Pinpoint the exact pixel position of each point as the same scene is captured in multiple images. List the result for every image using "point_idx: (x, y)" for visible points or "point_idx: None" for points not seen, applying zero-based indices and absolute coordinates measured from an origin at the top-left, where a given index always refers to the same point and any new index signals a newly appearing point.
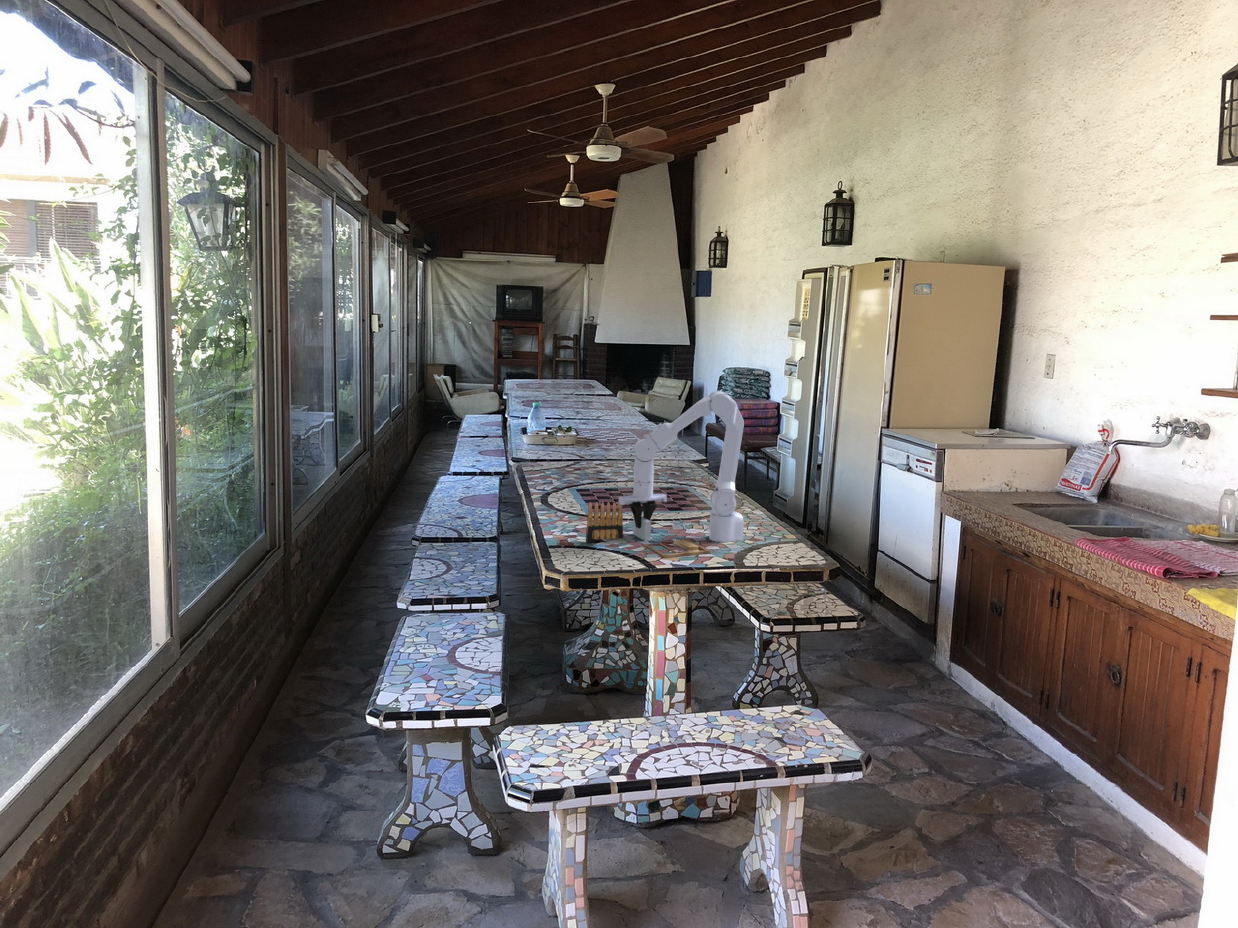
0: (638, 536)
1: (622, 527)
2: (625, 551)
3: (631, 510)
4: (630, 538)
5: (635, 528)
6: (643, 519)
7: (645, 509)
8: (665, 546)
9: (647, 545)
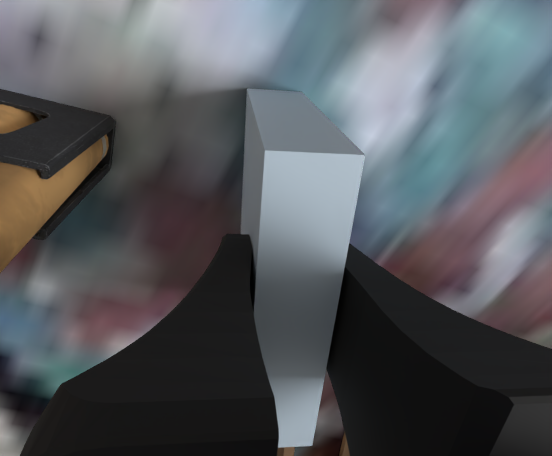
0: (244, 212)
1: (51, 228)
2: (50, 368)
3: (145, 335)
4: (226, 77)
5: (250, 168)
6: (278, 372)
7: (382, 418)
8: (286, 448)
9: None
